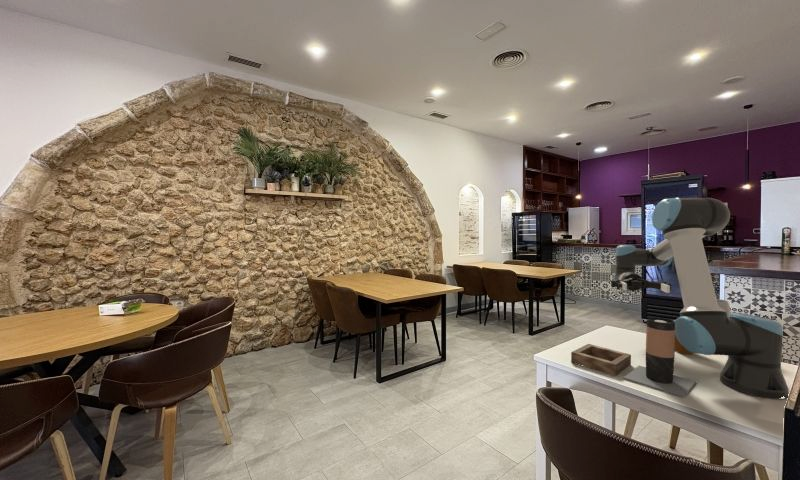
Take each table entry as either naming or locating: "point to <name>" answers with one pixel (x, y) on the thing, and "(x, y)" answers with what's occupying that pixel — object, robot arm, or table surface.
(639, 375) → the rubber mat
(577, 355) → the frame
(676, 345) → the disposable coffee cup
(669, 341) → the travel mug
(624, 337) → the table surface
